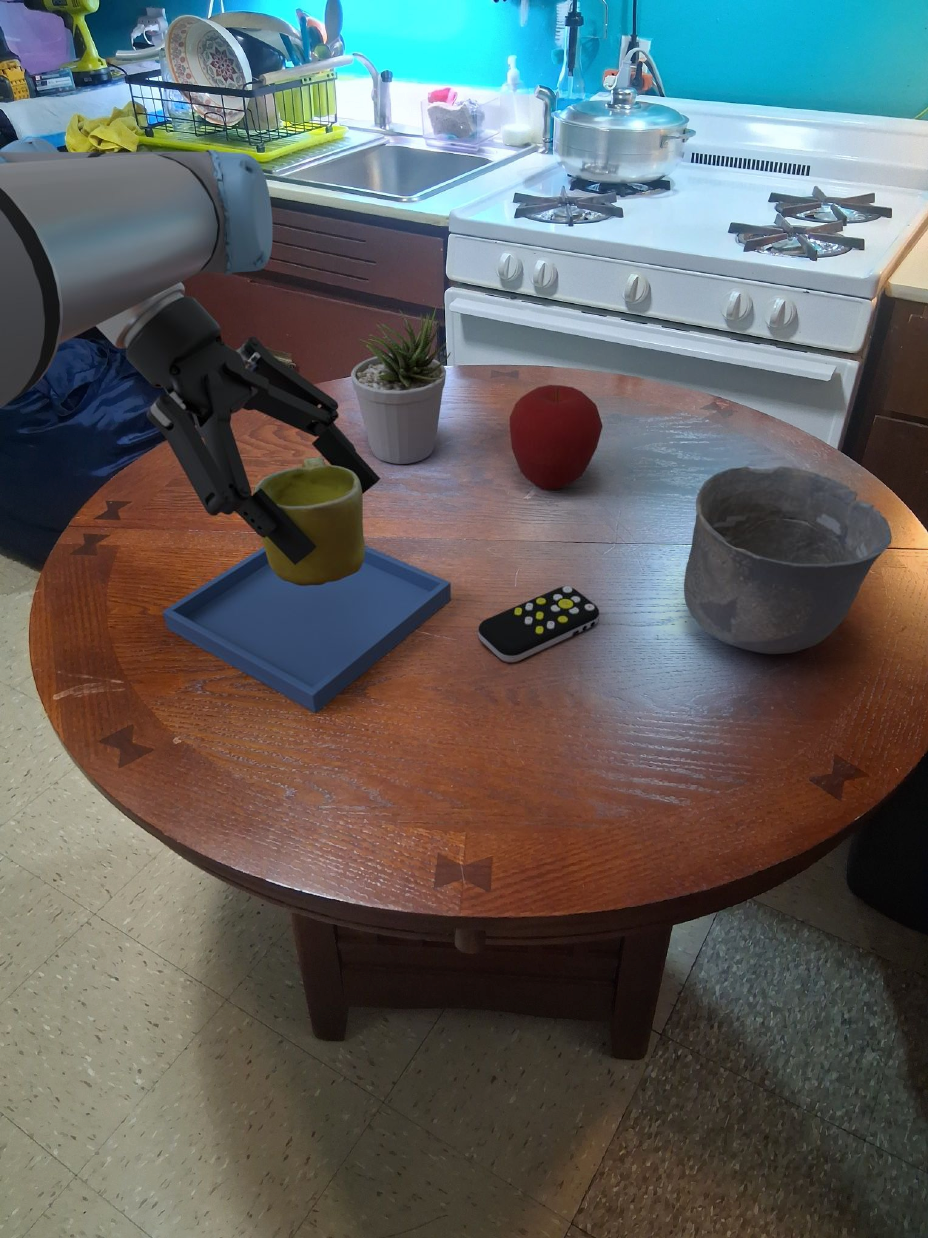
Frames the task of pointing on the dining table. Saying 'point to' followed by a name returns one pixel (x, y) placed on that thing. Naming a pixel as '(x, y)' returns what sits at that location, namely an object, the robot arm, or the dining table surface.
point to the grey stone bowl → (778, 557)
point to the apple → (554, 435)
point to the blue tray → (307, 622)
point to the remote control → (538, 624)
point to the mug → (318, 521)
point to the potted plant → (401, 395)
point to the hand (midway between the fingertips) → (339, 520)
